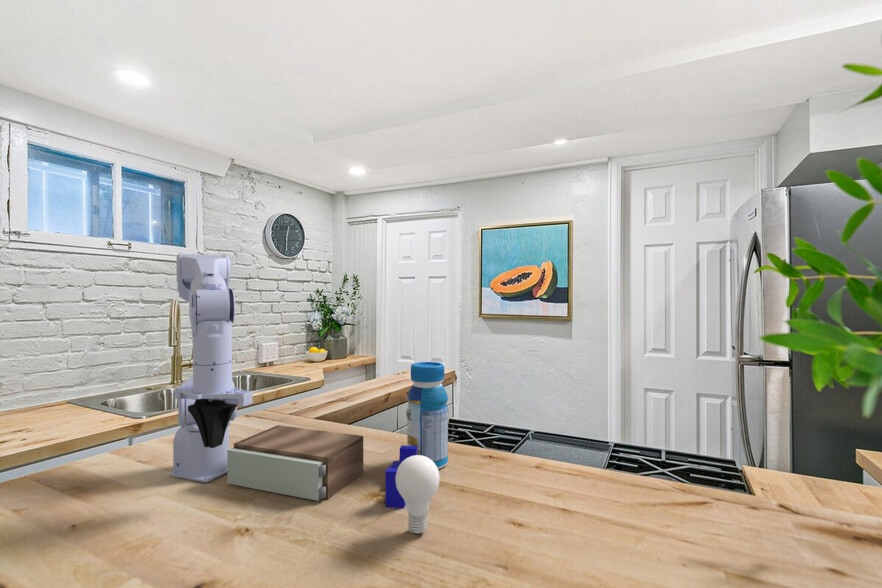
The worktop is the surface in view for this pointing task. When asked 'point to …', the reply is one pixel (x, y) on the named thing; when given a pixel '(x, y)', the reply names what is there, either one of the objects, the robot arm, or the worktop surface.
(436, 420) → the beverage bottle
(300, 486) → the cabinet door
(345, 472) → the cabinet
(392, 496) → the cable clip
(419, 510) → the lightbulb
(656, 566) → the worktop surface
